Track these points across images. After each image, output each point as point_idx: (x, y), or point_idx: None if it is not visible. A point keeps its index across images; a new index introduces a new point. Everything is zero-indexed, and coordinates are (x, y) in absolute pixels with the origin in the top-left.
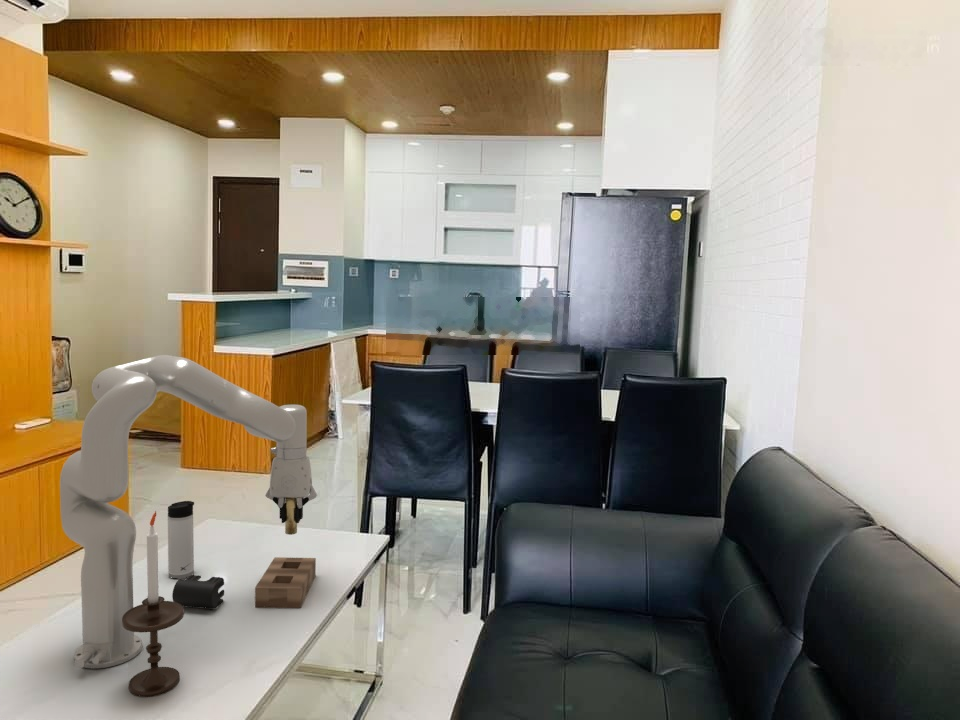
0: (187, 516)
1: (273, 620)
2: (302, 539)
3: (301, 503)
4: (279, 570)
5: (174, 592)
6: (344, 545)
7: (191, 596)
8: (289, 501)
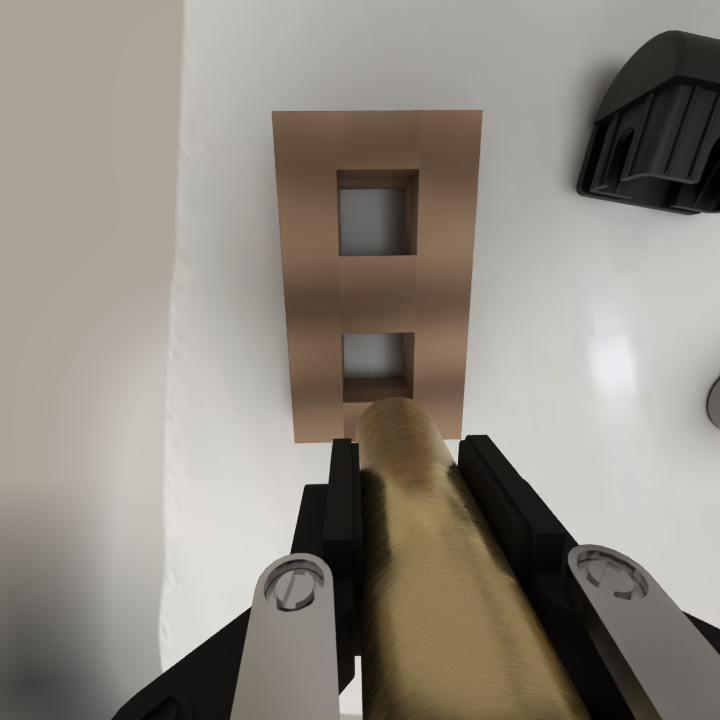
0: None
1: (363, 27)
2: None
3: (256, 629)
4: (413, 311)
5: None
6: None
7: None
8: (494, 656)
